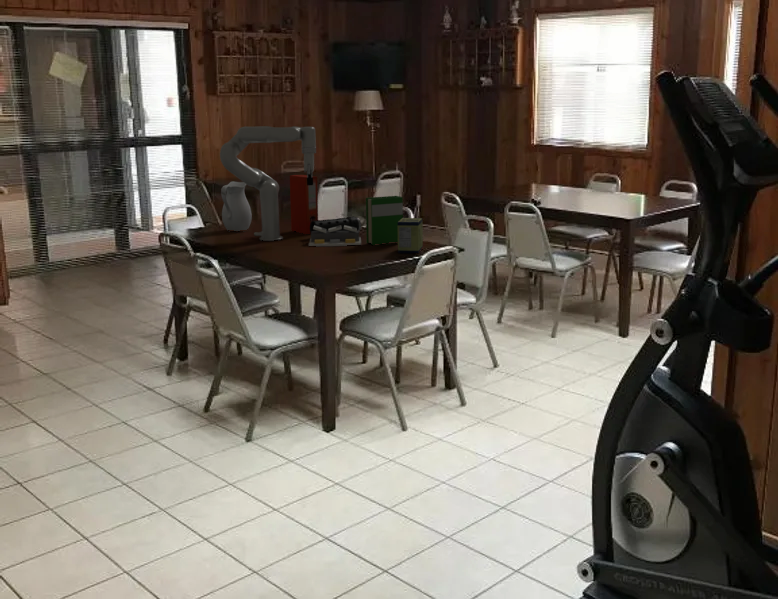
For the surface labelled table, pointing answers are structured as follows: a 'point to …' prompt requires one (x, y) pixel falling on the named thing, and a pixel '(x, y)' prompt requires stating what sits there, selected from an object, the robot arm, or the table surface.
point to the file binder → (303, 203)
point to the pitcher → (235, 207)
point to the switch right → (350, 228)
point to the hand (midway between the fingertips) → (310, 185)
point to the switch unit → (335, 238)
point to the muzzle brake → (337, 223)
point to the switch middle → (334, 228)
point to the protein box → (410, 235)
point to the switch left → (319, 229)
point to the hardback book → (383, 219)
